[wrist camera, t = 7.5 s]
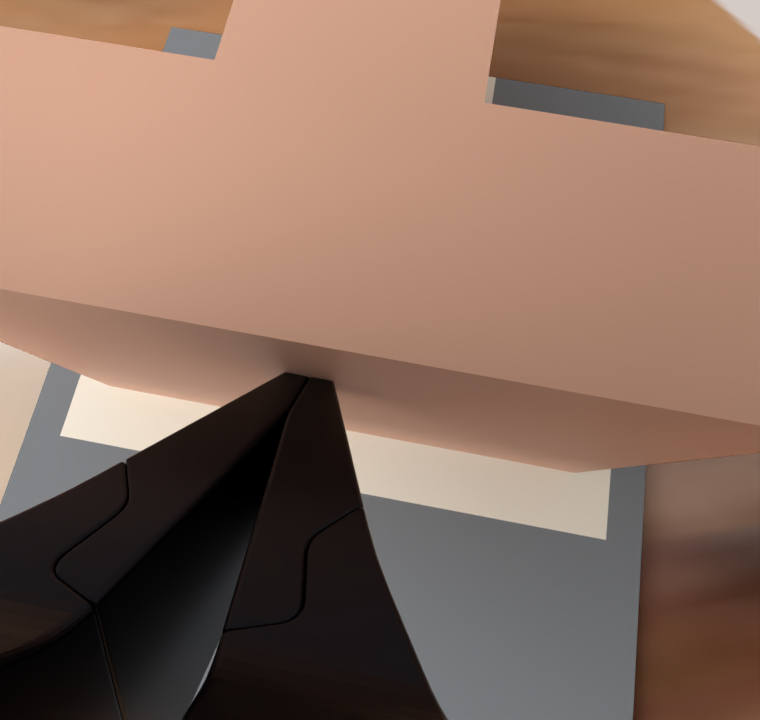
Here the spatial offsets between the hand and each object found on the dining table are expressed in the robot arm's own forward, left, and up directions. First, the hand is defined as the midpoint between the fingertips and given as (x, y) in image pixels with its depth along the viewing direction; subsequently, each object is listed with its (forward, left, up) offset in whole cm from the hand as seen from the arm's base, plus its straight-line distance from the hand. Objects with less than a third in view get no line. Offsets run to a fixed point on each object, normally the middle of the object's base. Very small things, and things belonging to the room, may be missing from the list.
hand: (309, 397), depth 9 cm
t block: (+6, -3, -6) cm, 9 cm away
